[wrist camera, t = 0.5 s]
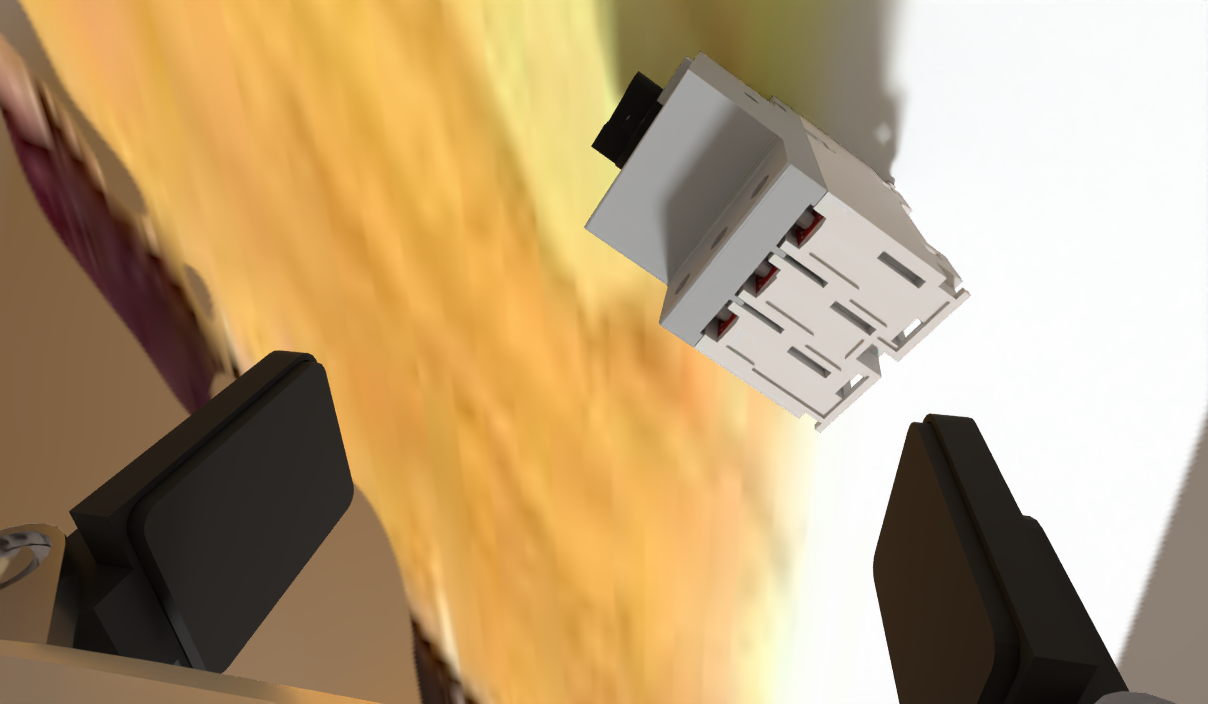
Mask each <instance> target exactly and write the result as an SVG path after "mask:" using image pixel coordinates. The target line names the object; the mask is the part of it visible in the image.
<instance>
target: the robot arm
mask: <svg viewBox="0 0 1208 704" xmlns="http://www.w3.org/2000/svg"><path fill="white" fill-rule="evenodd" d="M353 493H354V487H353V482H352V477H351V473H350V469H349V465H348V461H347V457H346V453H345V449H344V445H343V441H342V436H341V432H340V428H339V424H338V420H337V416H336V412H335V408H334V404H333V400H332V395H331V391H330V387H329V383H328V379H327V375H326V371H325V369H324V367H323V366H322V364H320V363H317V361H316V359H315V358H314V356H313V355H311V354H309V353H300V352H290V351H273V352H272V353H270V354H268V355H267V356H266V357H265V358H263V359H262V360H261V361H260V362H258V363H257V364H256V365H254V366H253V367H252V368H251V369H249V370H248V371H247V372H246V373H244V374H243V375H242V376H240V377H239V378H238V379H237V380H235V381H234V382H233V383H232V384H230V385H229V386H228V387H226V388H225V389H224V390H223V391H221V392H220V393H219V394H218V395H216V396H215V397H214V398H213V399H211V400H210V401H209V402H207V403H206V404H205V405H204V406H202V407H201V408H200V409H199V410H197V411H196V412H195V413H193V414H192V415H191V416H190V417H188V418H187V419H186V420H185V421H183V422H182V423H181V424H180V425H179V426H177V427H176V428H174V429H173V430H172V431H171V432H169V433H168V434H167V435H166V436H164V437H163V438H162V439H160V440H159V441H158V442H157V443H155V444H154V445H153V446H152V447H150V448H149V449H148V450H146V451H145V452H144V453H143V454H141V455H140V456H139V457H138V458H136V459H135V460H134V461H133V462H131V463H130V464H129V465H127V466H126V467H125V468H124V469H122V470H121V471H120V472H119V473H117V474H116V475H115V476H114V477H112V478H111V479H110V480H108V481H107V482H106V483H105V484H103V485H102V486H101V487H99V488H98V489H97V490H96V491H94V492H93V493H92V494H91V495H90V496H88V497H87V498H86V499H84V500H83V501H82V502H80V503H79V504H78V505H77V506H75V507H74V508H73V509H72V510H70V511H69V512H70V514H71V516H72V518H73V520H74V522H75V524H76V526H77V528H78V529H77V530H75V531H74V532H73V533H72V534H71V535H69V536H68V537H66V535H65V534H64V532H63V531H61V530H60V529H59V528H58V527H57V526H53V525H49V524H45V523H39V524H38V523H37V524H24V525H19V526H14V527H10V528H6V529H3V530H0V704H382V703H376V702H371V701H366V700H360V699H355V698H350V697H344V696H339V695H334V694H328V693H323V692H317V691H312V690H307V689H301V688H295V687H290V686H284V685H279V684H274V683H268V682H263V681H257V680H251V679H246V678H241V677H235V676H230V675H224V674H221V673H223V672H224V671H225V670H226V669H227V668H228V667H229V666H230V664H231V663H232V662H233V660H234V659H235V658H236V656H237V655H238V654H239V652H240V651H241V650H242V648H243V647H244V646H245V644H246V643H247V641H248V640H249V639H250V638H251V636H252V635H253V634H254V632H255V631H256V630H257V628H258V627H259V626H260V625H261V623H262V622H263V621H264V619H265V618H266V616H267V615H268V614H269V613H270V611H271V610H272V609H273V607H274V606H275V605H276V603H277V602H278V601H279V599H280V598H281V597H282V595H283V594H284V593H285V591H286V590H287V589H288V587H289V586H290V585H291V583H292V582H293V581H294V579H295V578H296V577H297V575H298V574H299V573H300V571H301V570H302V569H303V567H304V566H305V565H306V563H307V562H308V561H309V559H310V558H311V557H312V555H313V554H314V553H315V551H316V550H317V549H318V547H319V546H320V545H321V544H322V542H323V541H324V539H325V538H326V537H327V536H328V534H329V533H330V532H331V530H332V529H333V527H334V526H335V525H336V524H337V522H338V521H339V520H340V518H341V517H342V516H343V514H344V513H345V512H346V510H347V509H348V507H349V506H350V504H351V501H352V498H353ZM873 576H874V583H875V587H876V592H877V597H878V602H879V607H880V612H881V616H882V621H883V626H884V631H885V636H886V641H887V645H888V650H889V655H890V660H891V665H892V670H893V674H894V679H895V684H896V689H897V694H898V699H899V703H900V704H1176V703H1174V702H1172V701H1169V700H1166V699H1162V698H1159V697H1156V696H1153V695H1150V694H1147V693H1138V692H1129V690H1128V688H1127V686H1126V684H1125V682H1124V680H1123V679H1122V677H1121V675H1120V673H1119V671H1118V669H1117V667H1116V665H1115V664H1114V662H1113V660H1112V658H1111V656H1110V654H1109V652H1108V650H1107V649H1106V647H1105V645H1104V643H1103V641H1102V639H1101V637H1100V635H1099V633H1098V632H1097V630H1096V628H1095V626H1094V624H1093V622H1092V620H1091V618H1090V617H1089V615H1088V613H1087V611H1086V609H1085V607H1084V605H1083V603H1082V601H1081V600H1080V598H1079V596H1078V594H1077V592H1076V590H1075V588H1074V586H1073V585H1072V583H1071V581H1070V579H1069V577H1068V575H1067V573H1066V571H1065V569H1064V568H1063V566H1062V564H1061V562H1060V560H1059V558H1058V556H1057V554H1056V553H1055V551H1054V549H1053V547H1052V545H1051V543H1050V541H1049V539H1048V538H1047V536H1046V534H1045V532H1044V530H1043V528H1042V527H1041V526H1040V524H1039V523H1038V521H1037V520H1035V519H1034V518H1032V517H1030V516H1024V515H1022V513H1021V511H1020V509H1019V508H1018V506H1017V504H1016V502H1015V500H1014V498H1013V496H1012V494H1011V492H1010V490H1009V488H1008V486H1007V484H1006V482H1005V480H1004V478H1003V476H1002V474H1001V472H1000V470H999V468H998V466H997V464H996V462H995V460H994V458H993V456H992V454H991V452H990V450H989V448H988V446H987V444H986V442H985V440H984V438H983V436H982V435H981V433H980V431H979V429H978V427H977V425H976V423H975V421H974V420H973V419H972V418H969V417H959V416H949V415H939V414H928V415H926V417H925V418H924V420H923V423H919V422H913V423H911V425H910V426H909V429H908V432H907V436H906V440H905V443H904V447H903V451H902V454H901V458H900V462H899V465H898V469H897V473H896V477H895V480H894V484H893V488H892V491H891V495H890V499H889V502H888V506H887V510H886V514H885V517H884V521H883V525H882V528H881V532H880V536H879V539H878V543H877V547H876V551H875V555H874V562H873Z"/></svg>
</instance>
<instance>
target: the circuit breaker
mask: <svg viewBox="0 0 1208 704" xmlns="http://www.w3.org/2000/svg"><path fill="white" fill-rule="evenodd" d="M591 147H593V148H594V149H595V150H597V151H598V152H600V153H601V154H602V155H604V156H605V157H607V158H608V159H609V160H611V161H612V162H614V163H615V166H617V167H618V168H620V169H621V171H620V173H619V174H618V176H617V177H616V179H615V180H614V182H613V183H612V185H611V186H610V188H609V189H608V191H607V193H606V194H605V196H604V197H603V199H602V200H601V202H600V203H599V205H598V206H597V208H596V209H595V211H594V212H593V214H592V215H591V217H590V218H589V220H588V221H587V223H586V225H585V226H584V228H585V229H586V230H588V231H589V232H591V233H592V234H594V235H595V236H596V237H598V238H599V239H601V240H602V241H604V242H605V243H607V244H608V245H610V246H611V247H612V248H614V249H615V250H617V251H618V252H620V253H621V254H623V255H624V256H626V257H627V258H628V259H630V260H631V261H633V262H634V263H636V264H637V265H639V266H640V267H642V268H643V269H644V270H646V271H647V272H649V273H650V274H652V275H653V276H655V277H656V278H658V279H659V280H661V281H662V282H663V283H665V284H666V285H667V286H668V288H667V292H666V296H665V300H664V304H663V308H662V312H661V316H660V320H659V324H660V325H661V326H662V327H664V328H665V329H667V330H668V331H670V332H671V333H673V334H674V335H676V336H677V337H679V338H680V339H682V340H683V341H685V342H686V343H687V344H689V345H690V346H692V347H694V348H695V349H696V350H698V351H699V352H701V353H702V354H704V355H705V356H707V357H708V358H710V359H711V360H713V361H714V362H716V363H717V364H719V365H720V366H722V367H723V368H725V369H726V370H728V371H729V372H730V373H732V374H733V375H735V376H736V377H738V378H739V379H741V380H742V381H744V382H745V383H747V384H748V385H750V386H751V387H753V388H754V389H756V390H757V391H759V392H760V393H762V394H763V395H765V396H766V397H768V398H769V399H771V400H772V401H774V402H775V403H777V404H778V405H780V406H781V407H782V408H784V409H785V410H787V411H788V412H790V413H791V414H793V415H794V416H796V417H797V418H800V417H801V416H802V415H803V414H804V413H805V412H806V413H807V414H809V415H810V416H812V417H813V418H815V419H816V420H817V421H818V422H817V423H816V424H815V430H817V431H818V432H820V433H821V432H822V431H823V430H824V429H825V428H826V427H827V426H828V425H829V424H830V423H831V422H833V421H834V420H835V419H836V418H837V417H838V416H839V415H840V414H841V413H842V412H844V411H845V410H846V409H847V408H848V407H849V406H850V405H851V404H852V403H853V402H855V401H856V400H857V399H858V398H859V397H860V396H861V395H862V394H863V393H864V392H865V391H867V390H868V389H869V388H870V387H871V386H872V385H873V384H874V383H875V382H876V381H878V380H879V379H880V378H881V371H880V365H879V359H878V357H879V356H880V355H882V354H883V353H884V352H885V353H886V354H888V355H889V356H891V357H892V358H893V359H895V360H896V361H899V360H901V359H902V358H903V357H904V356H905V355H906V354H907V353H908V352H909V351H910V350H912V349H913V348H914V347H915V346H916V345H917V344H918V343H919V342H920V341H921V340H923V339H924V338H925V337H926V336H927V335H928V334H929V333H930V332H931V331H932V330H934V329H935V328H936V327H937V326H938V325H939V324H940V323H941V322H942V321H943V320H944V319H946V318H947V317H948V316H949V315H950V314H951V313H952V312H953V311H954V310H955V309H957V308H958V307H959V306H960V305H961V304H962V303H963V302H964V301H965V300H966V299H968V298H969V297H970V296H971V295H970V294H969V292H968V291H966V290H965V289H964V288H962V289H961V290H959V291H958V292H957V293H956V292H955V290H954V289H955V288H956V287H957V286H958V285H959V284H960V283H961V282H962V280H961V278H960V276H959V275H958V274H957V272H956V271H955V269H954V268H953V267H952V265H951V264H950V262H949V261H948V260H947V258H946V257H945V256H944V255H943V254H941V253H940V252H938V251H937V250H936V249H934V248H933V247H932V246H930V245H929V244H928V243H927V242H926V240H925V239H924V238H923V236H922V235H921V233H920V232H919V230H918V229H917V227H916V226H915V224H914V223H913V222H912V220H911V219H910V217H909V216H908V215H909V214H910V213H911V212H912V210H911V208H910V207H909V205H908V204H907V203H906V201H905V200H904V198H903V197H902V196H901V194H900V193H899V192H897V191H896V190H895V186H894V185H893V184H892V183H890V182H889V181H887V182H886V183H885V182H884V181H883V180H881V179H880V178H879V176H878V175H877V173H876V172H875V171H874V170H873V169H871V168H870V167H869V166H867V165H866V164H865V163H863V162H862V161H861V160H859V159H858V158H857V157H855V156H854V155H853V154H851V153H850V152H849V151H847V150H846V149H845V148H843V147H842V146H841V145H839V144H838V143H837V142H835V141H834V140H832V139H831V138H830V137H828V136H827V135H826V134H824V133H823V132H822V131H820V130H819V129H818V128H816V127H815V126H814V125H812V124H811V123H810V122H808V121H807V120H806V119H804V118H803V117H802V116H800V115H799V114H798V113H796V112H795V111H794V110H792V109H791V108H790V107H788V106H787V105H786V104H784V103H783V102H781V101H780V100H779V99H777V98H776V97H775V96H773V97H772V98H771V99H770V101H767V100H766V99H765V98H763V97H762V96H760V95H759V94H758V93H756V92H755V91H754V90H752V89H751V88H750V87H748V86H747V85H746V84H744V83H743V82H742V81H740V80H739V79H738V78H736V77H735V76H734V75H732V74H731V73H729V72H728V71H727V70H725V69H724V68H723V67H721V66H720V65H719V64H717V63H716V62H715V61H713V60H712V59H711V58H709V57H708V56H707V55H705V54H704V53H703V52H701V51H700V52H699V53H698V55H697V56H696V57H695V59H694V60H692V59H690V58H689V57H687V56H686V57H685V58H684V60H683V61H682V63H681V64H680V66H679V67H678V69H677V71H676V72H675V74H674V75H673V77H672V78H671V80H670V81H669V83H668V84H667V86H666V87H665V88H664V90H663V89H662V88H661V87H659V86H658V85H657V84H655V83H654V82H653V81H651V80H650V79H649V78H647V77H646V76H644V75H643V74H642V73H640V72H639V71H638V72H637V74H636V75H635V76H634V78H633V79H632V81H631V83H630V84H629V86H628V88H627V90H626V92H625V94H624V96H623V97H622V99H621V101H620V103H619V104H618V106H617V108H616V110H615V111H614V113H613V115H612V116H611V118H610V120H609V121H608V122H607V123H606V124H605V125H604V126H603V128H602V130H601V131H600V133H599V134H598V136H597V138H596V139H595V141H594V143H593V144H592V146H591ZM917 318H918V319H919V320H920V321H921V324H920V325H919V326H918V327H917V328H916V329H914V330H913V331H912V332H911V333H910V334H909V335H908V336H907V337H906V338H905V335H904V332H903V331H904V330H905V329H906V328H907V327H908V326H909V325H910V324H911V323H912V322H914V321H915V320H916V319H917ZM858 373H859V374H860V375H862V376H863V378H862V379H861V380H860V381H859V382H857V383H856V384H855V385H854V386H853V387H852V388H851V384H850V381H851V380H852V379H853V378H854V377H855V376H856V375H857V374H858Z"/></svg>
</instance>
